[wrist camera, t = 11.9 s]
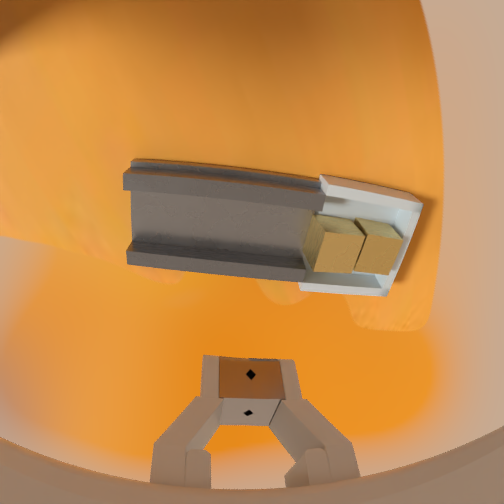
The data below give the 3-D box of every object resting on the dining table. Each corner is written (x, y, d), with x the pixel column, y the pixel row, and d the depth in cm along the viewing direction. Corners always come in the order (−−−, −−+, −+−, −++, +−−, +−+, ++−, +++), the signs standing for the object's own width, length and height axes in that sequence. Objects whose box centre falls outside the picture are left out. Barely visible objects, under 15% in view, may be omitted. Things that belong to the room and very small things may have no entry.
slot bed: (136, 252, 30) (127, 268, 28) (134, 158, 25) (123, 167, 23) (296, 269, 32) (301, 286, 30) (319, 179, 27) (327, 189, 25)
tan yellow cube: (302, 251, 30) (313, 271, 27) (312, 214, 28) (325, 232, 25) (338, 253, 31) (351, 273, 28) (349, 218, 29) (365, 236, 26)
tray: (295, 273, 33) (300, 290, 30) (320, 174, 27) (328, 184, 24) (377, 280, 34) (386, 296, 31) (409, 192, 28) (423, 204, 25)
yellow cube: (343, 252, 31) (353, 271, 28) (355, 217, 29) (368, 233, 26) (376, 256, 31) (388, 275, 28) (389, 223, 29) (403, 240, 26)
